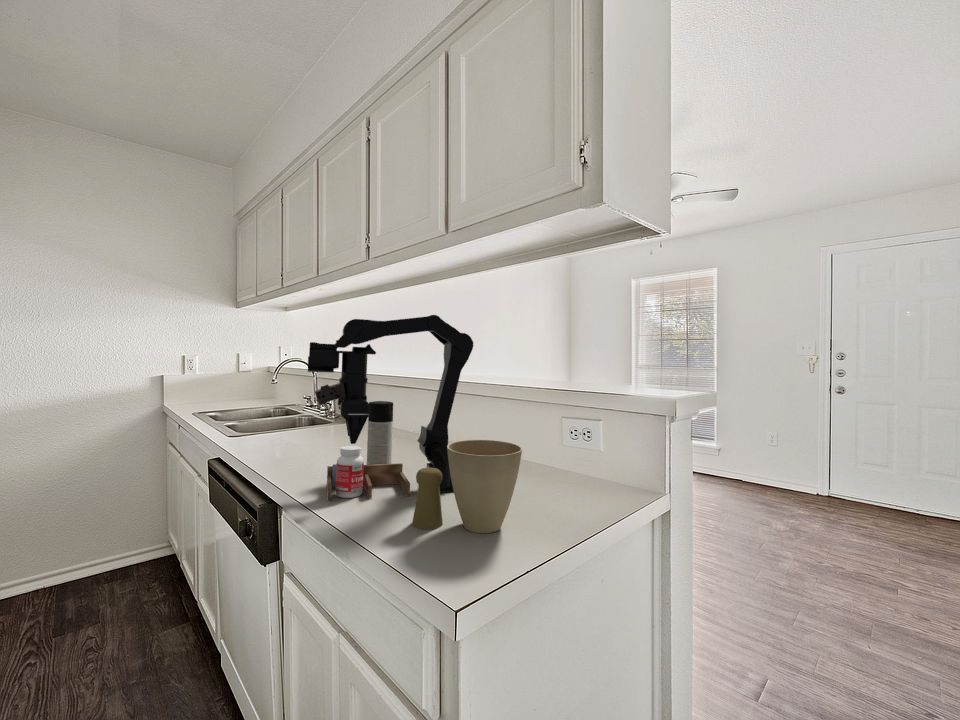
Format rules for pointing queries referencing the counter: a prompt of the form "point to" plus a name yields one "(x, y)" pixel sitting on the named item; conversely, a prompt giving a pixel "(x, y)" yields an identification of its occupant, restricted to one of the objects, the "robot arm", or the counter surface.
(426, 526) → the olive green peg figure
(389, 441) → the spray can
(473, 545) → the counter surface
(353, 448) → the pill bottle
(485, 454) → the plant pot
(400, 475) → the divider rack
